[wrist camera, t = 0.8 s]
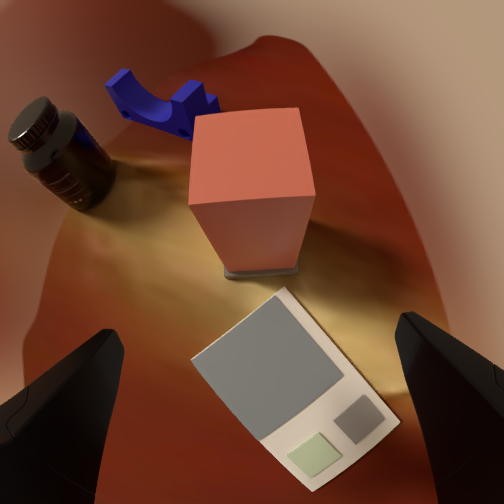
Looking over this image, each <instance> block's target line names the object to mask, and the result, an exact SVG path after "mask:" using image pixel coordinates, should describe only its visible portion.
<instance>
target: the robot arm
mask: <svg viewBox="0 0 504 504" xmlns="http://www.w3.org/2000/svg"><path fill="white" fill-rule="evenodd" d="M395 341H396V345H397V348H398V352H399V356H400V360H401V364H402V369H403V373H404V377H405V380H406V383H407V386H408V389H409V392H410V395H411V398H412V401H413V404H414V407H415V411H416V414H417V417H418V420H419V424H420V427H421V430H422V434H423V437H424V441H425V445H426V448H427V452H428V456H429V460H430V464H431V469H432V473H433V477H434V482H435V487H436V492H437V498H438V503H439V504H504V370H502V369H501V368H500V367H498V366H497V365H495V364H493V363H492V362H491V361H489V360H488V359H486V358H485V357H483V356H481V355H480V354H479V353H477V352H476V351H474V350H473V349H471V348H469V347H468V346H467V345H465V344H464V343H462V342H461V341H459V340H457V339H456V338H454V337H453V336H451V335H450V334H448V333H447V332H445V331H444V330H442V329H440V328H439V327H437V326H436V325H434V324H433V323H431V322H429V321H428V320H426V319H425V318H423V317H422V316H420V315H418V314H417V313H415V312H413V311H410V312H404V313H402V314H401V315H400V317H399V321H398V324H397V328H396V331H395ZM123 358H124V347H123V345H122V342H121V340H120V338H119V336H118V334H117V332H116V331H115V330H114V329H102V330H101V331H100V332H98V333H97V334H95V335H94V336H93V337H91V338H90V339H89V340H87V341H86V342H85V343H83V344H82V345H81V346H79V347H78V348H77V349H75V350H74V351H73V352H71V353H70V354H68V355H67V356H66V357H64V358H63V359H62V360H61V361H59V362H58V363H57V364H55V365H54V366H53V367H51V368H50V369H49V370H47V371H46V372H45V373H43V374H42V375H41V376H39V377H38V378H37V379H36V380H34V381H33V382H32V383H30V385H28V386H26V387H25V388H24V389H23V390H21V391H20V392H19V393H17V394H16V395H15V396H13V397H12V398H11V399H9V400H8V401H6V402H5V403H3V404H2V405H0V504H94V501H95V493H96V487H97V481H98V475H99V470H100V465H101V459H102V455H103V450H104V445H105V441H106V436H107V432H108V428H109V423H110V419H111V415H112V411H113V407H114V404H115V400H116V396H117V392H118V387H119V381H120V375H121V369H122V364H123Z"/></svg>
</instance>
